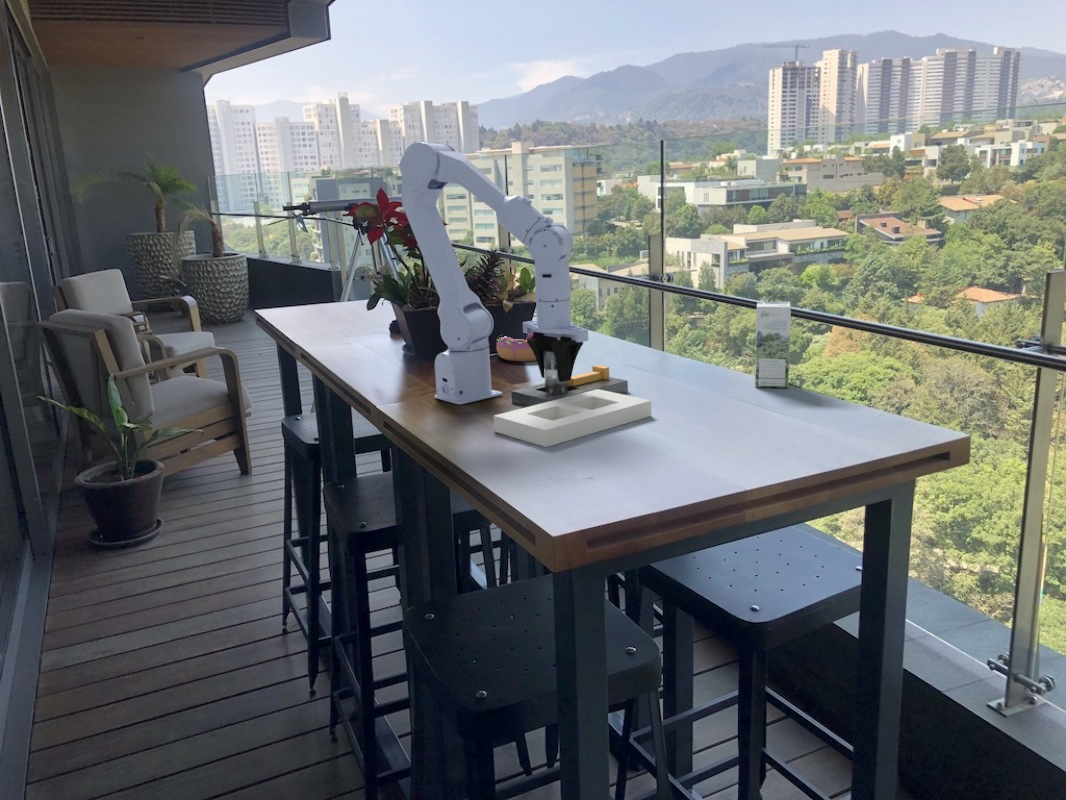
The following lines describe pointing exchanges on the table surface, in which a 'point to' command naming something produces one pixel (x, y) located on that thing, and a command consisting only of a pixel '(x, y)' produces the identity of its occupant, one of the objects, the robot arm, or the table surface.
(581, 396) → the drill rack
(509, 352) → the donut
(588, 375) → the bar
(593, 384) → the dark grey socket tray
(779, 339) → the syrup box
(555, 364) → the brushed steel cylinder
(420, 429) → the table surface
